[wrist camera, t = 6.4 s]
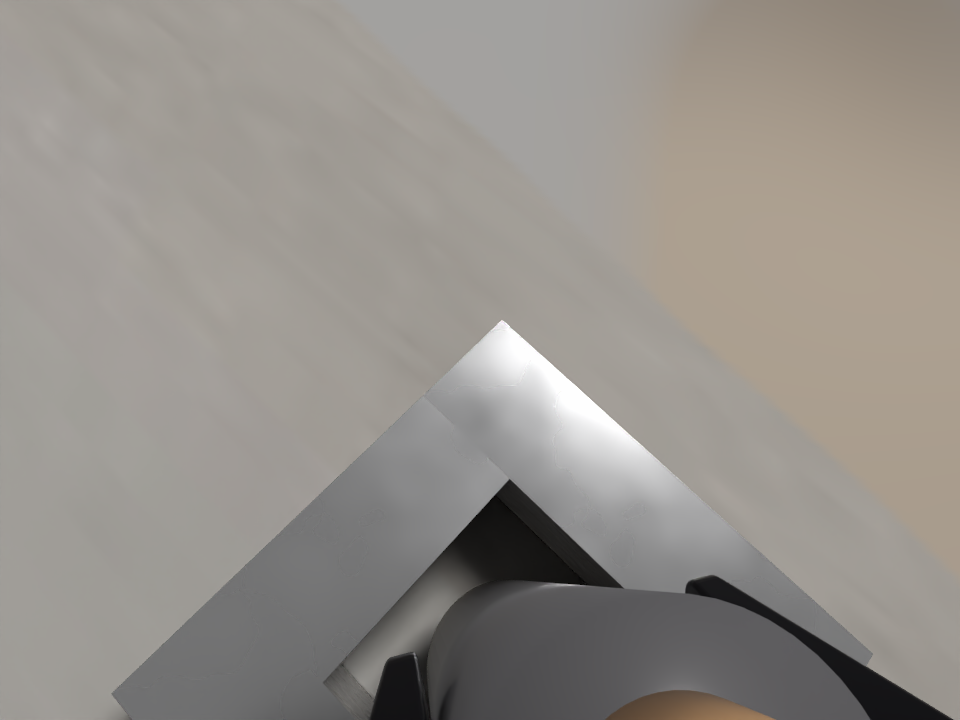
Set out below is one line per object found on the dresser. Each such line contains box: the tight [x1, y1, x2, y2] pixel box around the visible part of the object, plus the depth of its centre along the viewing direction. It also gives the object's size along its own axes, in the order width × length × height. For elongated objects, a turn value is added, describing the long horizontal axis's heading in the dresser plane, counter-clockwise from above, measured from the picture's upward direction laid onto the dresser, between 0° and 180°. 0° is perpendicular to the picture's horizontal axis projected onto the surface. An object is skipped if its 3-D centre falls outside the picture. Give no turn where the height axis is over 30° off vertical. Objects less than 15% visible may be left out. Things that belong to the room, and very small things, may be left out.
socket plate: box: [112, 320, 873, 720], centre depth 14 cm, size 12×12×3 cm
